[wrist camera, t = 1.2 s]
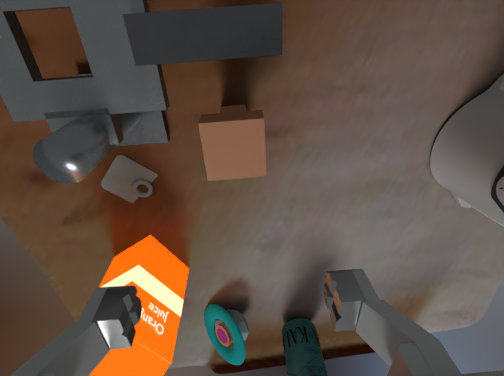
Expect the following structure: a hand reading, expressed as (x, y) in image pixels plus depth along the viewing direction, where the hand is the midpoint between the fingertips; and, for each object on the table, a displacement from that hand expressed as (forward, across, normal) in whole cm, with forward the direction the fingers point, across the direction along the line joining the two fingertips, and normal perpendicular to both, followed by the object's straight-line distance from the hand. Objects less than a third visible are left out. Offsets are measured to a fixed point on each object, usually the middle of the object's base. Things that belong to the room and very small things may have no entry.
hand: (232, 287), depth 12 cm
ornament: (+25, +3, +36) cm, 44 cm away
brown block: (+24, 0, 0) cm, 24 cm away
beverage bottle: (+25, -10, +40) cm, 48 cm away
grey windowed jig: (+24, +6, -6) cm, 26 cm away
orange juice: (+25, +14, +22) cm, 36 cm away
